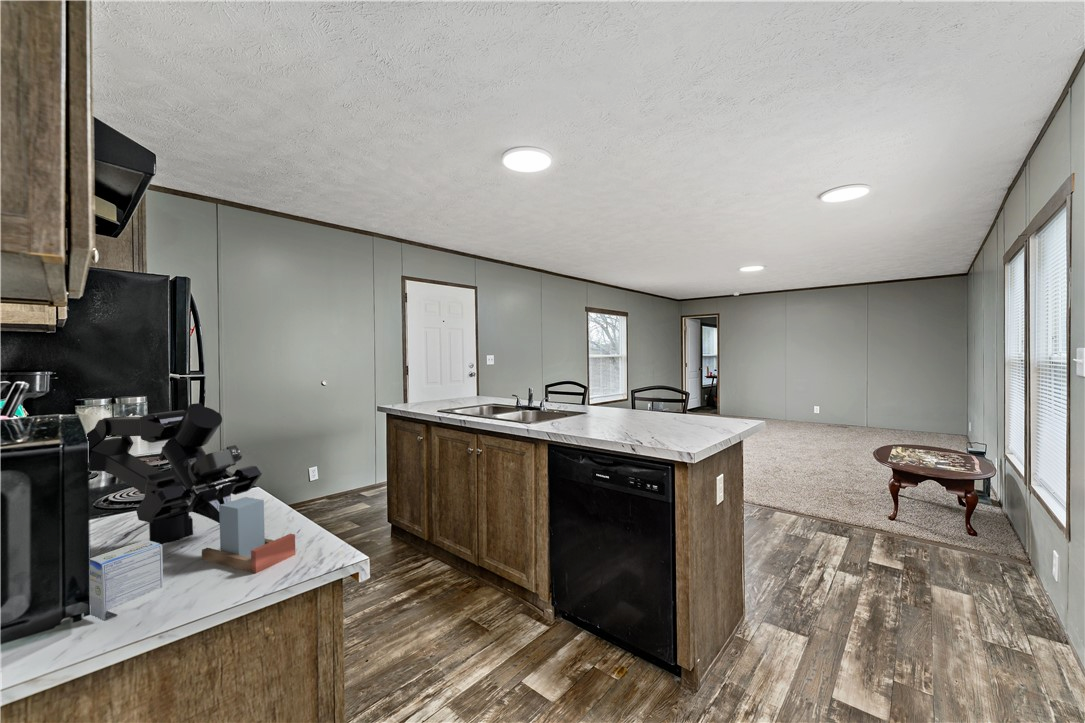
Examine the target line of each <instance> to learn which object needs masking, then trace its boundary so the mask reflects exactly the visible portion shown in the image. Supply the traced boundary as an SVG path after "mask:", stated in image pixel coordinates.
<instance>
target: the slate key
mask: <svg viewBox="0 0 1085 723" xmlns="http://www.w3.org/2000/svg"><path fill="white" fill-rule="evenodd" d="M264 503H265V502H264V499H260V498H254V497H248V496H245V497H241V498H237V499H235V500H231V502H228V503H224V504H221V505H219V516H220V523H219V537H220V538H219V539H220V540H219V541H220V542H219V544H220V545H219V549H220V551H224V552H228V553H232V554H236V555H241V556H245V557H249V558H251V550H253V549H255V548H258V547H260V546H262V545H265V539H266V538H265V534H266V533H265V507H264V506H265V504H264Z"/></svg>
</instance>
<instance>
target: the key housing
mask: <svg viewBox="0 0 1085 723" xmlns="http://www.w3.org/2000/svg"><path fill="white" fill-rule="evenodd" d="M293 556H294V557H295V556H296V534H294V533H288V534H286V535H283V536H281V537H279V538H277V539H274V540H273V539H270V538H265V545H262V546H260V547H258V548H255V549H253V550H251V558H249V557H245V556H241V555H236V554H232V553H228V552H224V551H220V550H219V549H215V548H210V547H205V548H202V550H201V560H203V561H206V562H210V563H214V564H217V565H221V566H226V567H230V568H232V569H233V568H234V569H237V570H242V571H245V572H249V573H253V574H258V573H260V572H263V571H265V570H266V569H269V568H271V567H272V566H275V565H277V564H280V563H281V562H283V561H285V560H287V559H290V558H292V557H293Z"/></svg>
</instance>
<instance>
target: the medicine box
mask: <svg viewBox="0 0 1085 723" xmlns="http://www.w3.org/2000/svg"><path fill="white" fill-rule="evenodd" d="M89 559H90V605H91V615H90V616H92V617H94V616H95V617H94V618H96V617H98V618H97V619H99V618H100V619H99V620H101V619H102V620H101V621H107V620H108V619H111V618H113V617H115V616H118V614H117V613H115V612H111V611H110V610H112V609H115V608H117V607H120V606H122V605H124V604H127V603H129V602H133V601H134V600H136V599H138V598H141V597H143V596H145V595H148V594H150V593H152V592H155V591H157V590H160V589H162V588H164V577H163V576H164V573H163V570H164V568H163V566H164V565H163V544H162V545H161V544H159V543H156V542H152V541H149V540H148V539H145V540H141V541H137V542H136V543H132V544H128V545H126V546H123V547H120V548H117V549H113V550H111V551H108V552H106V553H102V554H99V555H96V556H93V557H89Z"/></svg>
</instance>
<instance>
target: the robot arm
mask: <svg viewBox="0 0 1085 723" xmlns="http://www.w3.org/2000/svg"><path fill="white" fill-rule="evenodd" d="M222 422H223V417H222V415H221V414H220V412H217V411H216V410H215V409H213V408H210V407H206V406H203V404H202V402H197V403H190V404H189V405H188V407H187V409H186V410H184V409H181V410H172V411H165V412H163V411H162V412H155V413H148V414H144V415H142V416H127V415H121V416H119V415H118V416H111V417H104V418H101V419H98V421H97V422H96V424H95V426H94V428H92V429H91V430H90V431H89V432H87V433H86V434H87V437H88V441H89V471H88V472H107V473H109V474H110V475H112V476H113V477H116V478H117V479H119V480H121V481H122V482H124V483H125V484H127V485H128V486H131V487H132V488H134V489H135V490H137V491H138V492H140V493H142V494H143V495H144V498H142V501H141V502H140V504H139V505H138V506H137V508H136V510H135V512H136V515H137V516H136V517H137V519H138V521H141V522H145V523H148V534H149V536H148V537H149V538H148V539H149V540H148V541H152V542H156V543H159V544H161V545H162V546H163V545H164V544H168V543H173V542H177V541H180V540H183V539H184V538H188V537H190V536H191V537H192V536H193V535H194V524H193V522H194V520H193V517H192V516H191V515H190V513H194V514H197V515H200V516H203V517H206V518H208V519H210V520H212V521H214V522H216V523H218V524H220V516H219V505H221V504H224V503H228V502H231V501H232V500H231V498H232V497H231V496H232V495H234V496H236V495H240V494H243V493H247V492H248V491H250V490H251V489H253V487H254V486H255V484H256V482H258V480H259V479H260V478H261V476H262V475H263V473H262V472H261V470H260V469H259V467H258V466H257V465H249V466H246V467H242V468H237V469H236V470H235V471H234V473H233V474H232V475H231V477H229V478H225V479H223V477H225V476H226V475H227V473H228V470H227V469H228V468H230V467H232V466H236V465H237V462H239V461H241V460H242V459H243V455H242V452H241V450H240V449H239V447H237V445H235V444H234V445H229V446H226V448H224V449H222V450H218V451H213V452H210V453H209V452H208V453H206V452H205V450H204V448H203V446H206V445H207V444H208V443H209V442H210V441H211V440H212V438H213V437H214V435H215V433H216V431H217V430H218V429H219V427H220V426H221V424H222ZM112 436H113V437H112ZM114 436H117V437H114ZM118 436H120V437H118ZM106 437H112V438H107V439H106ZM132 437H140V439H141V440H142V441H144V442H147V443H152V444H153V443H159V442H164V441H166V442H165V444H164V445H163V446H162V447H161V452H160V453H159V455H158V456H159V457H158V461H160V462H161V461H167V462H168V463H169V465H170V467H171V468H172V469H170V470H165V471H162V470H160V469H158V468H156V467H155V466H153V465H151V464H149V463H147V462H145V460H142V459H141V458H138V457H136V456H134V455H133V454H131V453H130V450H131V449H132V447H133V445H134V441H133V440H132Z"/></svg>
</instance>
